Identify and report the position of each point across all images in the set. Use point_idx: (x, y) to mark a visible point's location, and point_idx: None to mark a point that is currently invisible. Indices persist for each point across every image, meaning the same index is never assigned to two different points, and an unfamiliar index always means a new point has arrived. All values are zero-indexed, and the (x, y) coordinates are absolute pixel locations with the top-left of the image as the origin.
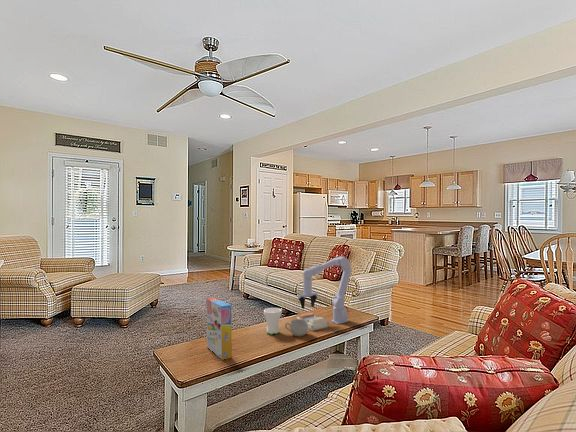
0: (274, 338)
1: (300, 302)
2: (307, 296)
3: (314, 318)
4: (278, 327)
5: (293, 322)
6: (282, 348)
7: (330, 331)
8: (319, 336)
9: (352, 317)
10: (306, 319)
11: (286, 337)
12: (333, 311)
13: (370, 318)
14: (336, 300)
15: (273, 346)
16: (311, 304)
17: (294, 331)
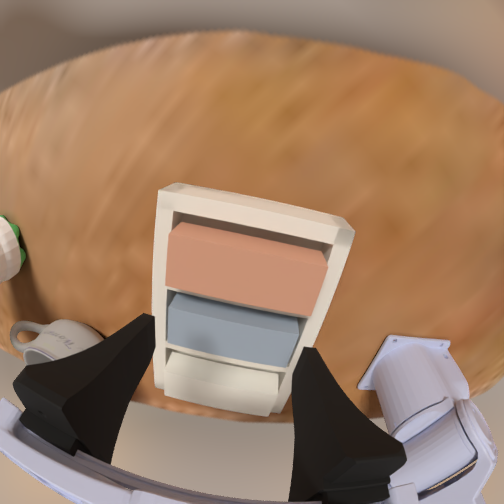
0: (8, 292)
1: (88, 354)
2: (183, 496)
3: (210, 383)
4: (6, 276)
5: (46, 344)
6: (23, 359)
7: (239, 413)
8: (157, 407)
9: (482, 350)
10: (170, 331)
11: (41, 321)
12: (397, 408)
13: (482, 388)
14: (415, 486)
15: (5, 332)
16: (304, 371)
17: (52, 360)
